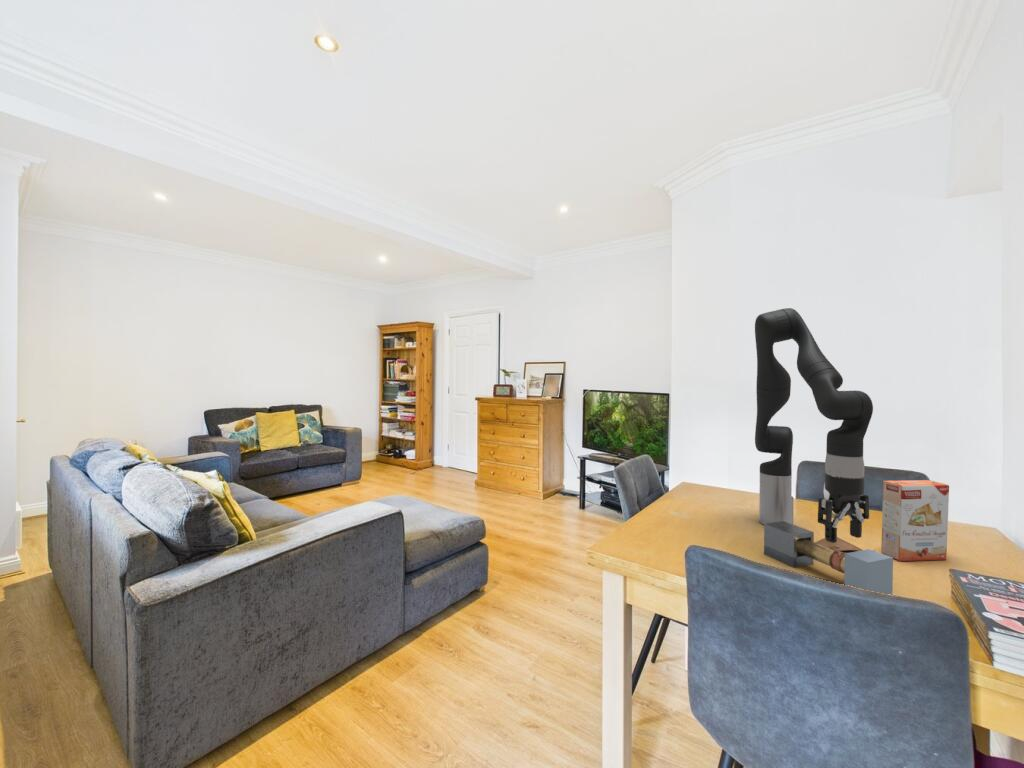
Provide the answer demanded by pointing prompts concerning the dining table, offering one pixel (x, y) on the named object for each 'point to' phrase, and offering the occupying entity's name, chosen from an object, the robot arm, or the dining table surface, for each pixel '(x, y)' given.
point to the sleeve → (786, 543)
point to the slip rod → (822, 554)
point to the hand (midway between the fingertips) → (843, 539)
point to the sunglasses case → (839, 545)
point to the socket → (869, 571)
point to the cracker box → (915, 520)
